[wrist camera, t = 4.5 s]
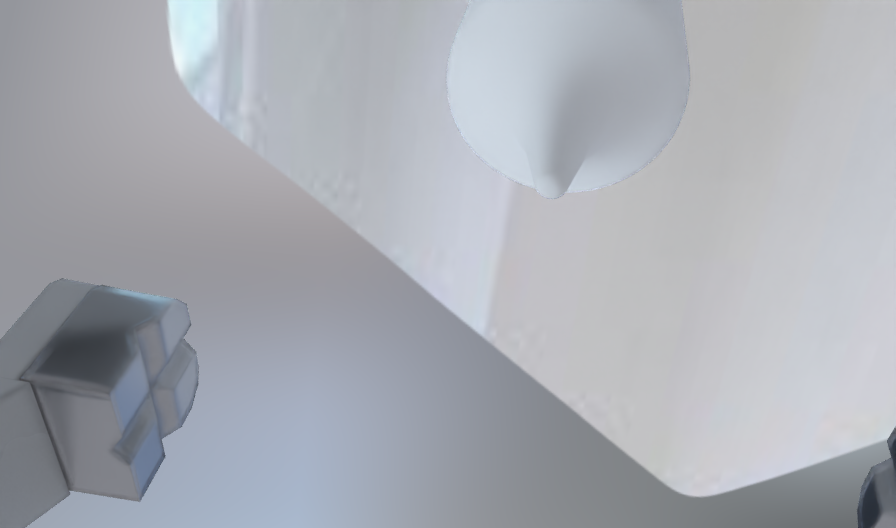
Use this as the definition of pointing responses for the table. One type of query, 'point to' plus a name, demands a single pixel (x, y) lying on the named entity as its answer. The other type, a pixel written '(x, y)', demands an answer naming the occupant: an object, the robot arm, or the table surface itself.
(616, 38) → the candle
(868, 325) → the table surface
